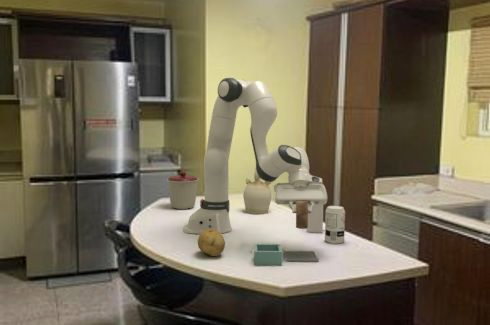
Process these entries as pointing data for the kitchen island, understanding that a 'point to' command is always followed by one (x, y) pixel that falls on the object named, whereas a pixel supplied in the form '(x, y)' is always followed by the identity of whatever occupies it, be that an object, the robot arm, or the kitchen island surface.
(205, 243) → the potato
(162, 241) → the kitchen island surface
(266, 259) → the tub
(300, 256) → the mat
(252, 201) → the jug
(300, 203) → the walnut peg
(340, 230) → the supplement can
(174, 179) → the canister
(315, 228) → the milk carton
